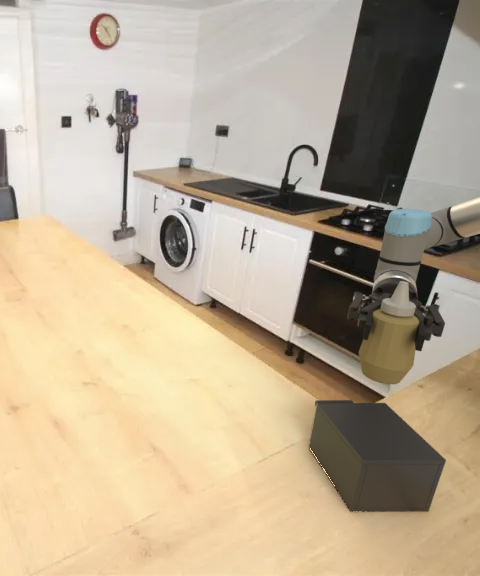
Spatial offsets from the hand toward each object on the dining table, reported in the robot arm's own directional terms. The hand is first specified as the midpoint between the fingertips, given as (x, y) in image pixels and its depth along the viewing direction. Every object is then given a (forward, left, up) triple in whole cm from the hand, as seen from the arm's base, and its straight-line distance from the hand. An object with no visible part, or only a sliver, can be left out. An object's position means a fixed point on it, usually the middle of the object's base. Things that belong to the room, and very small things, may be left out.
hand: (392, 337), depth 66 cm
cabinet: (+1, +2, -27) cm, 27 cm away
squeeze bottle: (-4, -4, -10) cm, 11 cm away
